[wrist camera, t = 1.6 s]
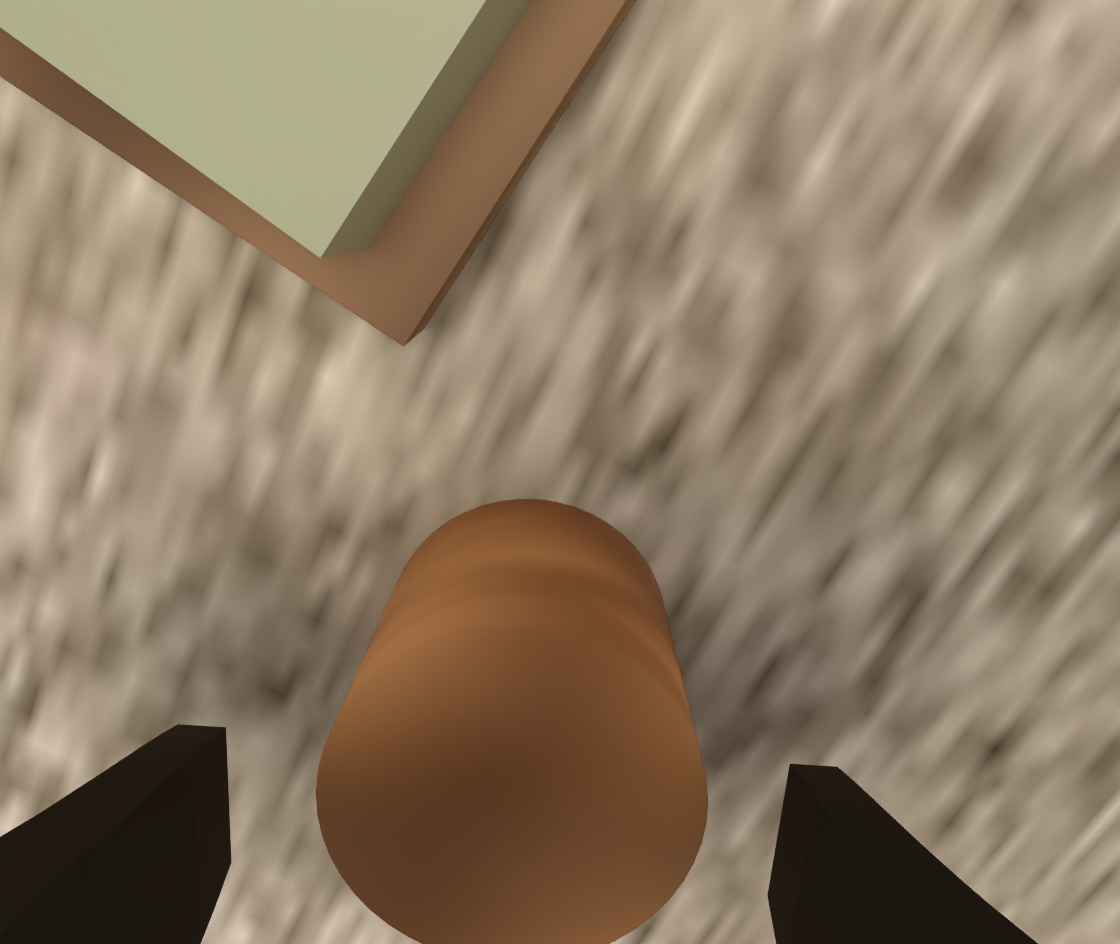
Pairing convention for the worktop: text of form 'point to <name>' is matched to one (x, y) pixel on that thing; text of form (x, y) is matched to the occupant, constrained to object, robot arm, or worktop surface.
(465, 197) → the walnut base block
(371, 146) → the sage top block
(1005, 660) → the worktop surface
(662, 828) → the orange cylinder
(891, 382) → the worktop surface
